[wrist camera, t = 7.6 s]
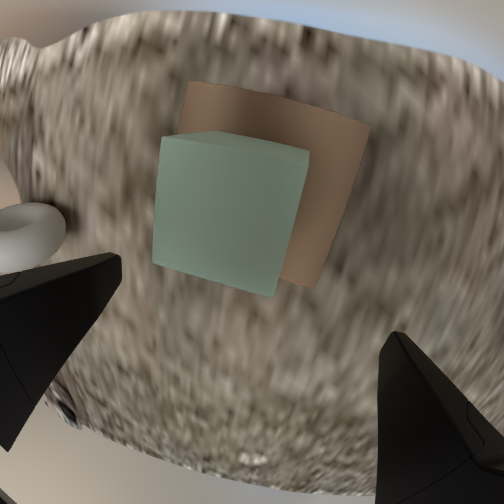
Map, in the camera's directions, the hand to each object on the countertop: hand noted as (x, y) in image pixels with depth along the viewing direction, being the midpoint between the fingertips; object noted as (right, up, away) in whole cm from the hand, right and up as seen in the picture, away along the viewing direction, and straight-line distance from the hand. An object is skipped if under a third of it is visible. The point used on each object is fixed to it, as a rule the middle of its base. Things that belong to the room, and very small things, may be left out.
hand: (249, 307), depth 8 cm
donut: (-20, +5, +15) cm, 25 cm away
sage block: (0, +5, +7) cm, 8 cm away
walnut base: (+1, +7, +10) cm, 12 cm away
